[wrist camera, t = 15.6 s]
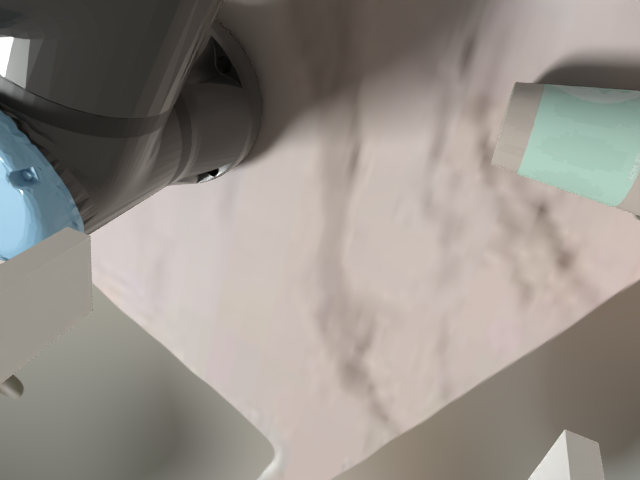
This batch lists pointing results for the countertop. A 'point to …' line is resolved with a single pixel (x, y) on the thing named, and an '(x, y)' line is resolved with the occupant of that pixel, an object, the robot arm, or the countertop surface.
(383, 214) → the countertop surface
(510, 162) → the coffee cup
